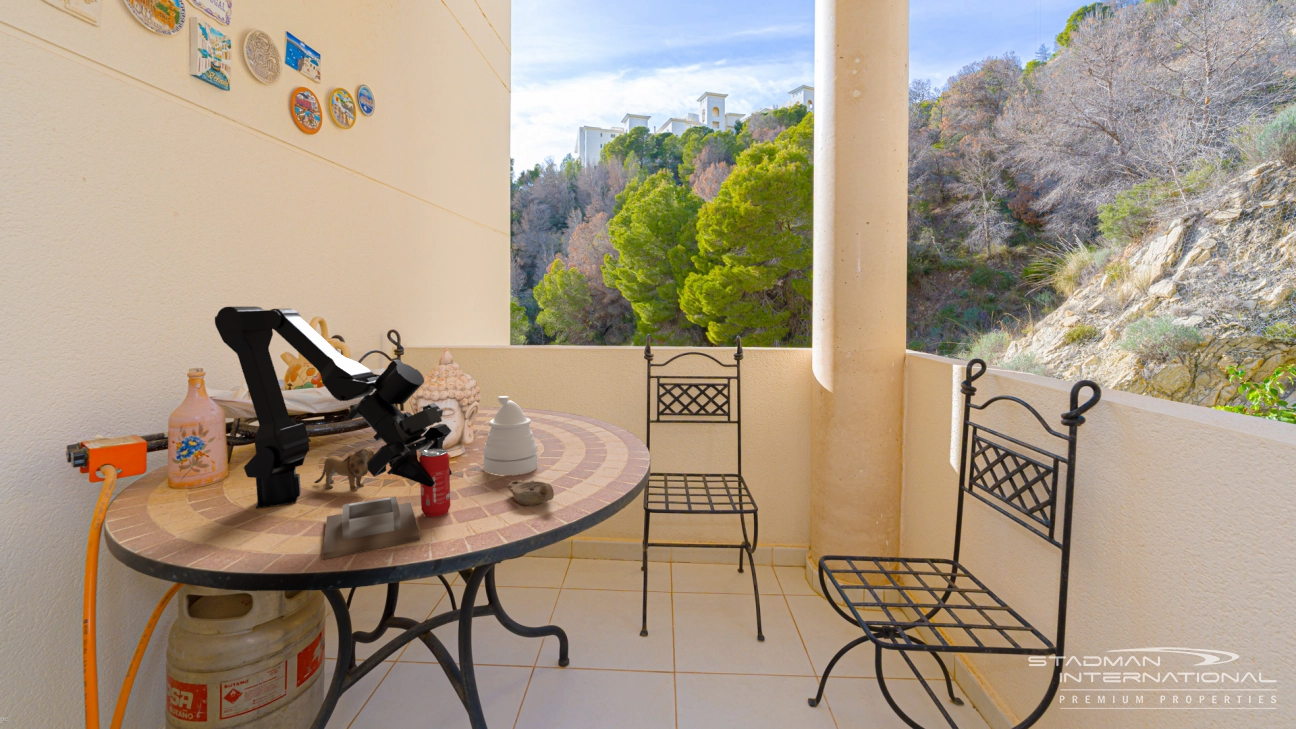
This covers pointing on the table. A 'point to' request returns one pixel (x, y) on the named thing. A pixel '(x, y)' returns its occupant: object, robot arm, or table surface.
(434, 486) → the beverage can
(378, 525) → the can socket board
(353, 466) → the lion figurine
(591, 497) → the table surface
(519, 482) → the oil lamp
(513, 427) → the honey pot
